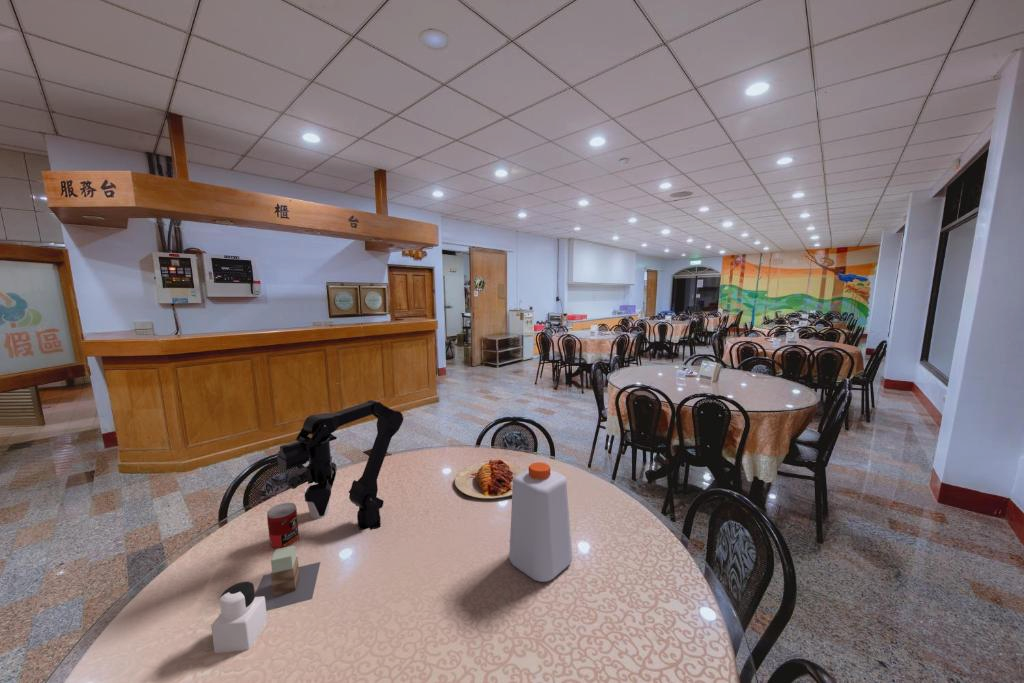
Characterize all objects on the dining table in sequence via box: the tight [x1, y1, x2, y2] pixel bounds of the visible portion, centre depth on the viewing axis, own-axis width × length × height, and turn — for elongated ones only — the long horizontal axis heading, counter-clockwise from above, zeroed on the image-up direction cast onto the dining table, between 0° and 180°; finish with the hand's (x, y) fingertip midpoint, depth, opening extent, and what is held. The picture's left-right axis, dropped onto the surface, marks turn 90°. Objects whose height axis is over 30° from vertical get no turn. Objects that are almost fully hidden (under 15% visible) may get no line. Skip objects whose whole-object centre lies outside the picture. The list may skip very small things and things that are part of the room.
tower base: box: [272, 566, 300, 596], centre depth 96 cm, size 5×5×3 cm
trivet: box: [255, 561, 321, 612], centre depth 96 cm, size 14×14×1 cm
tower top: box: [270, 556, 299, 585], centre depth 95 cm, size 5×5×3 cm
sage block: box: [270, 545, 297, 573], centre depth 95 cm, size 4×4×4 cm
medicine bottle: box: [210, 581, 268, 654], centre depth 81 cm, size 7×7×12 cm
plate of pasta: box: [454, 459, 526, 499], centre depth 151 cm, size 31×35×7 cm
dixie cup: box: [303, 482, 330, 520], centre depth 129 cm, size 8×8×10 cm
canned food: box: [266, 502, 300, 549], centre depth 114 cm, size 8×8×11 cm
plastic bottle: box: [508, 462, 573, 583], centre depth 103 cm, size 15×15×28 cm
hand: (324, 507), depth 110 cm, fingers open, 9 cm apart
